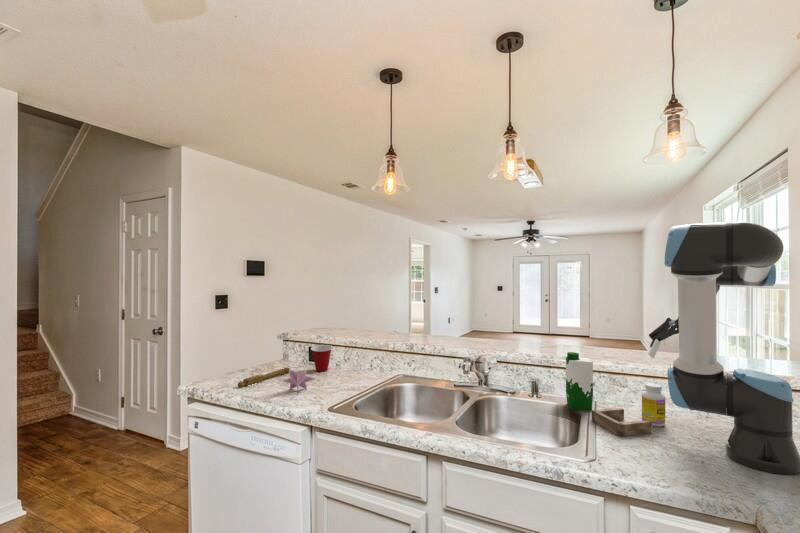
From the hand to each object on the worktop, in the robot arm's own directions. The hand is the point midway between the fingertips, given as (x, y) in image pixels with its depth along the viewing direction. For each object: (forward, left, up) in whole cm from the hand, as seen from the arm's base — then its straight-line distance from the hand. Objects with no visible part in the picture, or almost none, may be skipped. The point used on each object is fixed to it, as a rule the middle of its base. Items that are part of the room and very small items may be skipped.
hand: (671, 361), depth 137 cm
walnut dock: (-2, +22, -20) cm, 30 cm away
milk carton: (+17, +23, -20) cm, 35 cm away
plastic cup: (+92, +116, -20) cm, 150 cm away
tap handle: (+81, +142, -20) cm, 165 cm away
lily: (+59, +126, -20) cm, 141 cm away
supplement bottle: (-2, +9, -20) cm, 22 cm away
